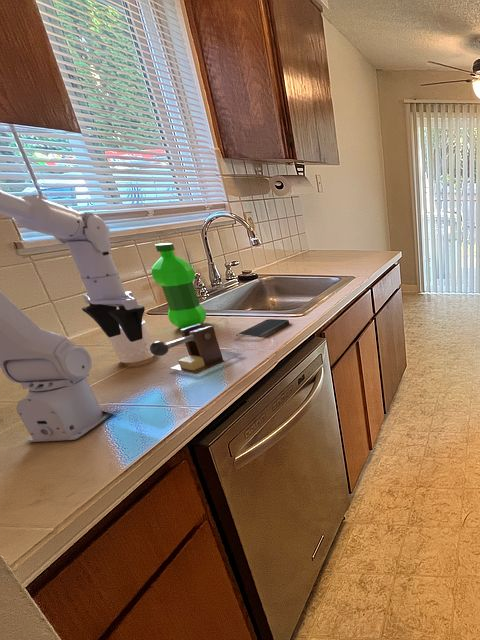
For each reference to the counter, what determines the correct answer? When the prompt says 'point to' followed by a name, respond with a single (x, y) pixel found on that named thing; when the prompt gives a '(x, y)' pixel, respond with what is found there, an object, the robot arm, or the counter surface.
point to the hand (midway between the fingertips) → (125, 337)
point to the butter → (191, 362)
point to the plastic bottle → (178, 287)
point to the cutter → (169, 344)
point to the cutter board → (205, 348)
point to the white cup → (132, 346)
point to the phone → (265, 328)
